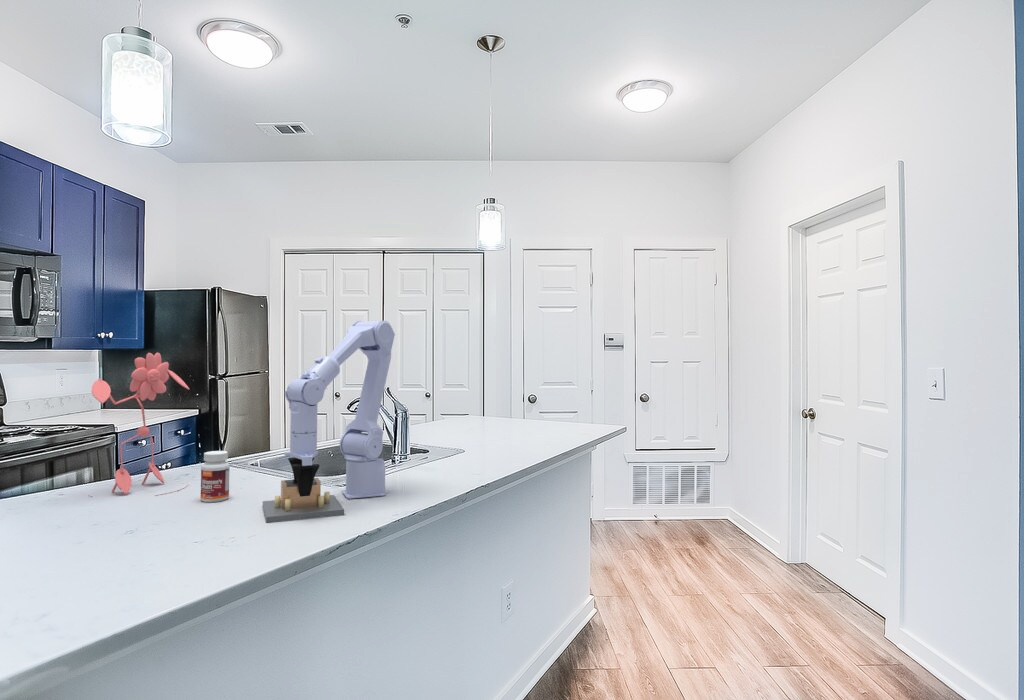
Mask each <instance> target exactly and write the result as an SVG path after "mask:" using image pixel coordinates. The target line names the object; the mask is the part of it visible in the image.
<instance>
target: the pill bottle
mask: <svg viewBox="0 0 1024 700" xmlns="http://www.w3.org/2000/svg"><path fill="white" fill-rule="evenodd" d="M228 459H229V452H228V451H226V450H211V451H206V452H203V462H204V463H203V464H202V465H201V466H200V500H201V502H205V503H216V502H223V501H226V500H228V499H229V497H230V467H231V466H230V463H228V462H227V460H228Z"/></svg>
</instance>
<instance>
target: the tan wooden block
mask: <svg viewBox="0 0 1024 700" xmlns="http://www.w3.org/2000/svg"><path fill="white" fill-rule="evenodd" d="M321 483H322V482H321V480H320V478H318V477H314V481H313V485H312V490H311V494H310V496H301V497H300V494H299V490H298V483H297V479H295V480H294V479H283V480H281V481H280V496H281V507H282V510H285V499H291V509H296V508H307V507H317V506H318V497H319V496H321V490H322V489H321V485H322V484H321Z"/></svg>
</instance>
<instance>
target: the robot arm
mask: <svg viewBox="0 0 1024 700" xmlns="http://www.w3.org/2000/svg"><path fill="white" fill-rule="evenodd" d="M395 336H396V334H395V331H394V330H393V327H392V325H391V324H390V322H388V321H387V320H380V321H379V320H378V321H376V320H375V321H373V320H371V321H368V320H367V321H365V320H364V321H363V320H356V321H355V322H353V323H352V324H351V326H349V327H348V328H347V334H346V335H345V336H344V337H343V339H341V341H339V343H338V344H337V345H336V347H335V348H334V349H333V350H332V351H331V353H330V354H329V355H328V356H326V355H325V356H324V355H323V356H320V357H316V358H315V360H314V363H313V365H311V367H309V368H308V369H307V370H306V371H304V372H303V373H302V374H301V376H300V377H299V378H297V379H296V378H294V379H293V380H292V381H290V382H289V384H288V386H287V388H286V390H285V391H284V396H285V400H287V402H288V409H289V411H290V429H289V430H290V431H289V432H290V435H289V436H290V437H289V438H290V439H289V444H290V445H289V447H290V448H289V451H288V450H287V451H284V453H283V454H284V456H285V457H288V458H287V459H288V462H289V464H290V466H291V469H292V474H293V480H295V479H297V483H298V490H299V494H300V497H301V496H310V494H311V490H312V485H313V481H314V478H316V474H317V472H318V470H319V469H320V464H319V463H313V461H314V459H315V457H316V456H317V455H318V454H319V451H318V404H319V403H320V402H322V400H323V398H324V395H325V391H326V389H327V387H328V386H329V385H330V384H331V382H333V381H334V379H335V378H337V377H338V375H339V374H340V372H341V368H340V366H341V365H342V364H344V362H345V361H346V360H348V359H349V358H350V357H351V356H352V355H354V353H356V351H358V350H359V351H361V353H363V355H365V356H366V358H367V359H368V362H367V366H366V371H365V375H364V379H363V384H362V388H361V392H360V396H359V400H358V401H359V402H358V405H357V409H356V414H355V418H354V419H353V420H352V421H351V422H349V423H348V424H347V425H346V427H345V431H344V433H343V435H342V436H341V438H340V440H339V449H340V452H341V454H342V455H343V456H344V457H343V459H344V460H346V461H345V464H346V465H345V489H342V490H341V493H342V494H343V495H344V497H345V498H346V499H349V500H351V499H362V498H374V497H383V496H387V495H386V494H387V493H386V464H385V460H384V458H379V456H380V455H381V454H382V451H383V448H384V447H383V446H384V443H383V436H384V435H383V434H384V430H383V429H382V428H381V426H379V424H378V418H379V414H380V410H381V406H382V405H381V404H382V401H383V400H382V399H383V395H384V391H385V386H386V382H387V377H388V374H389V368H390V366H391V365H390V364H391V359H392V348H393V344H394V340H395ZM289 456H290V457H289Z"/></svg>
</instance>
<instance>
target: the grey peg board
mask: <svg viewBox="0 0 1024 700" xmlns="http://www.w3.org/2000/svg"><path fill="white" fill-rule="evenodd" d="M323 493H324V495H320V496H319V497H318V506H317V507H307V508H296V509H291V499H285V510H282V507H281V495H275V496H274V500H273V499H272V500H263V501H262V509H263V510H262V511H263V514H264V519H265V523H267V524H268V523H278V522H286V521H297V520H307V519H316V518H318V519H319V518H326V517H327V518H328V517H337V516H344V515H345V508H344V507H343V505H342V504H341V503H340V501H339V500H338V499H337V497H336V496H335V495H334V494H332V495H331V492H330V491H324V492H323Z"/></svg>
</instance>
